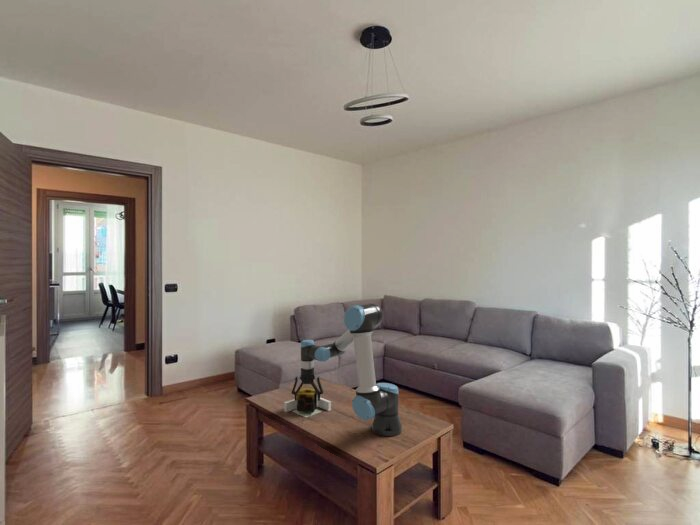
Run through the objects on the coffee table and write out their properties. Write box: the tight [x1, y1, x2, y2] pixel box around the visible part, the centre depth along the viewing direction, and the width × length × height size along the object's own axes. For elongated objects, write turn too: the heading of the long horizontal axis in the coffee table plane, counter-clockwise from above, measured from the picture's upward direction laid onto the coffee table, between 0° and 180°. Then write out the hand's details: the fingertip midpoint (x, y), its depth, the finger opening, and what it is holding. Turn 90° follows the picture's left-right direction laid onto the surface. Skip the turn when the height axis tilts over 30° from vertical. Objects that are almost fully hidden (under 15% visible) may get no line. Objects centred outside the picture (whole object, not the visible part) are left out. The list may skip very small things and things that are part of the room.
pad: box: [292, 408, 323, 418], centre depth 218 cm, size 12×12×1 cm
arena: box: [283, 396, 332, 413], centre depth 219 cm, size 18×20×5 cm
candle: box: [296, 387, 318, 412], centre depth 218 cm, size 10×10×10 cm
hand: (307, 406), depth 218 cm, fingers closed on candle, 11 cm apart
